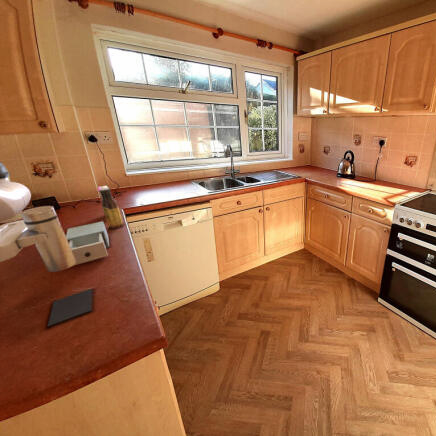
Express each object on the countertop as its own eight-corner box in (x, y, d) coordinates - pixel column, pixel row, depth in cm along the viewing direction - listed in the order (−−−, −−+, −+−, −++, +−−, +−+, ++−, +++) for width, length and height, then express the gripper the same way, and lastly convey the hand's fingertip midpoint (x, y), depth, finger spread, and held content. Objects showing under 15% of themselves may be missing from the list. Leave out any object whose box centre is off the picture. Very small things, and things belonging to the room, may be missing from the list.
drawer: (108, 257, 94) (103, 243, 92) (71, 267, 88) (64, 252, 85) (107, 244, 104) (102, 231, 102) (73, 252, 98) (68, 239, 96)
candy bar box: (106, 214, 142) (96, 186, 135) (116, 212, 145) (107, 185, 138) (107, 219, 134) (97, 190, 127) (118, 217, 136) (109, 188, 130)
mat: (48, 327, 63) (47, 326, 63) (54, 302, 72) (53, 301, 72) (91, 311, 68) (91, 310, 68) (92, 289, 77) (91, 288, 77)
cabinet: (109, 247, 103) (103, 230, 100) (72, 256, 97) (65, 239, 94) (108, 236, 113) (103, 221, 110) (74, 244, 106) (68, 228, 104)
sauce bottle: (108, 226, 124) (95, 188, 117) (123, 223, 128) (111, 186, 120) (110, 230, 120) (96, 191, 112) (124, 226, 123) (112, 188, 116)
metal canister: (46, 274, 65) (17, 216, 59) (49, 264, 70) (22, 209, 64) (76, 266, 69) (51, 210, 62) (77, 257, 73) (54, 204, 67)
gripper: (3, 239, 69) (65, 228, 75) (-42, 276, 53) (43, 257, 59) (-8, 219, 67) (57, 209, 73) (-58, 250, 50) (32, 234, 56)
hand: (51, 231), depth 66 cm, fingers closed on metal canister, 6 cm apart
